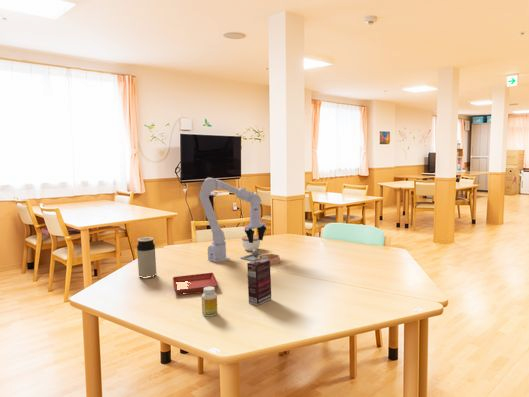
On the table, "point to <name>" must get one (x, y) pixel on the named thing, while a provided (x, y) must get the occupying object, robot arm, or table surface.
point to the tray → (250, 257)
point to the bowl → (271, 258)
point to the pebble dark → (255, 253)
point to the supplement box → (259, 281)
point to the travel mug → (146, 256)
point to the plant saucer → (195, 282)
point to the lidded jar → (253, 245)
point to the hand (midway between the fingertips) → (255, 241)
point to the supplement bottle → (209, 301)
